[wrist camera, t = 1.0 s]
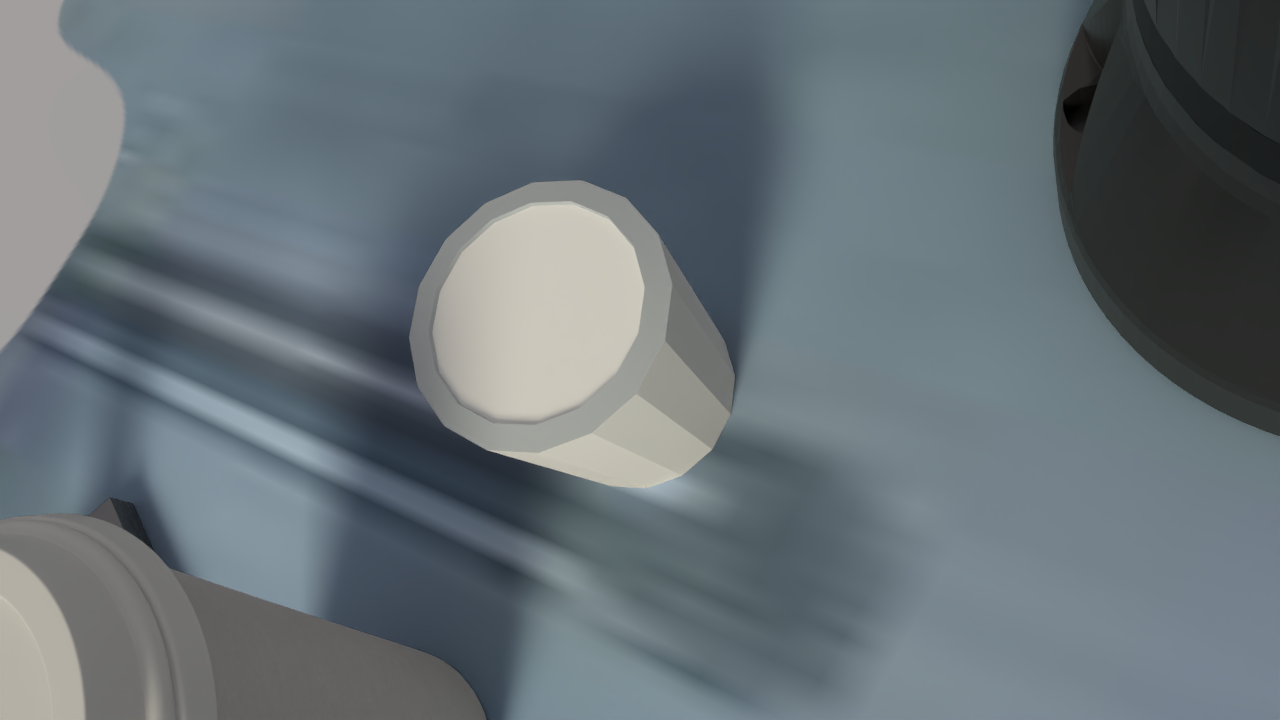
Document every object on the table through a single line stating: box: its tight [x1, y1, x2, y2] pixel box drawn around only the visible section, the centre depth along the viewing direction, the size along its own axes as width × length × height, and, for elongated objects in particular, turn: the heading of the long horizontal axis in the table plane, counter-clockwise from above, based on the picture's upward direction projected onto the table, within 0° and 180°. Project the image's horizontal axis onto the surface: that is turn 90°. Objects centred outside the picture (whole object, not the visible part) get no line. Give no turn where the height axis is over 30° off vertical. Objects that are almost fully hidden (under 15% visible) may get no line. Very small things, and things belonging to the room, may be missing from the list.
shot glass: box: [409, 180, 735, 488], centre depth 31 cm, size 7×7×7 cm
